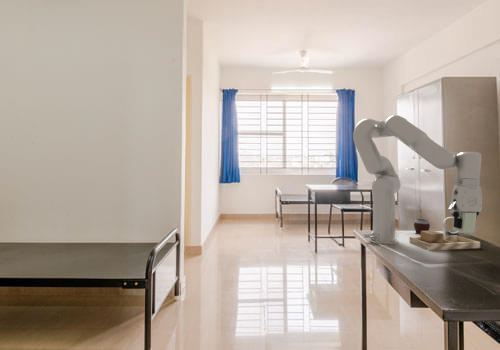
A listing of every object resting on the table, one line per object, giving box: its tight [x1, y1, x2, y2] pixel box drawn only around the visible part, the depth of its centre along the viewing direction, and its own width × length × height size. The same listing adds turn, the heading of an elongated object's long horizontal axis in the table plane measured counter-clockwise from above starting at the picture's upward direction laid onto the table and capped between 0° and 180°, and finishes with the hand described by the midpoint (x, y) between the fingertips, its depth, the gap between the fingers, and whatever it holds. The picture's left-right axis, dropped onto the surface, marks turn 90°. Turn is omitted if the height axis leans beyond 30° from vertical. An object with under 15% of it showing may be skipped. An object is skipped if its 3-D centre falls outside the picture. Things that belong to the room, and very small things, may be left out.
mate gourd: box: [413, 204, 431, 235], centre depth 146 cm, size 8×8×15 cm
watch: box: [442, 216, 460, 236], centre depth 138 cm, size 6×8×11 cm
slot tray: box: [409, 235, 481, 251], centre depth 124 cm, size 24×12×4 cm, turn 98°
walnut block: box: [420, 230, 445, 244], centre depth 123 cm, size 6×6×6 cm
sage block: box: [452, 212, 477, 234], centre depth 112 cm, size 5×5×8 cm
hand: (463, 227), depth 112 cm, fingers closed on sage block, 5 cm apart
